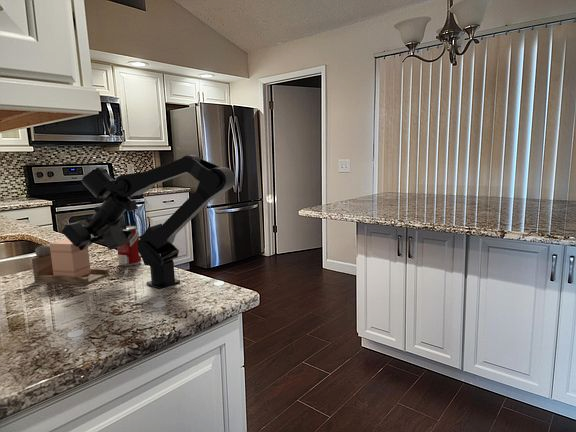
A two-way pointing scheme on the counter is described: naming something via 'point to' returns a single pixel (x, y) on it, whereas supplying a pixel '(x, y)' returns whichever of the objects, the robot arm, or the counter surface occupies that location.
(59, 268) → the pink box
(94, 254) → the counter surface
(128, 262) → the soda can
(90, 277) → the bay
